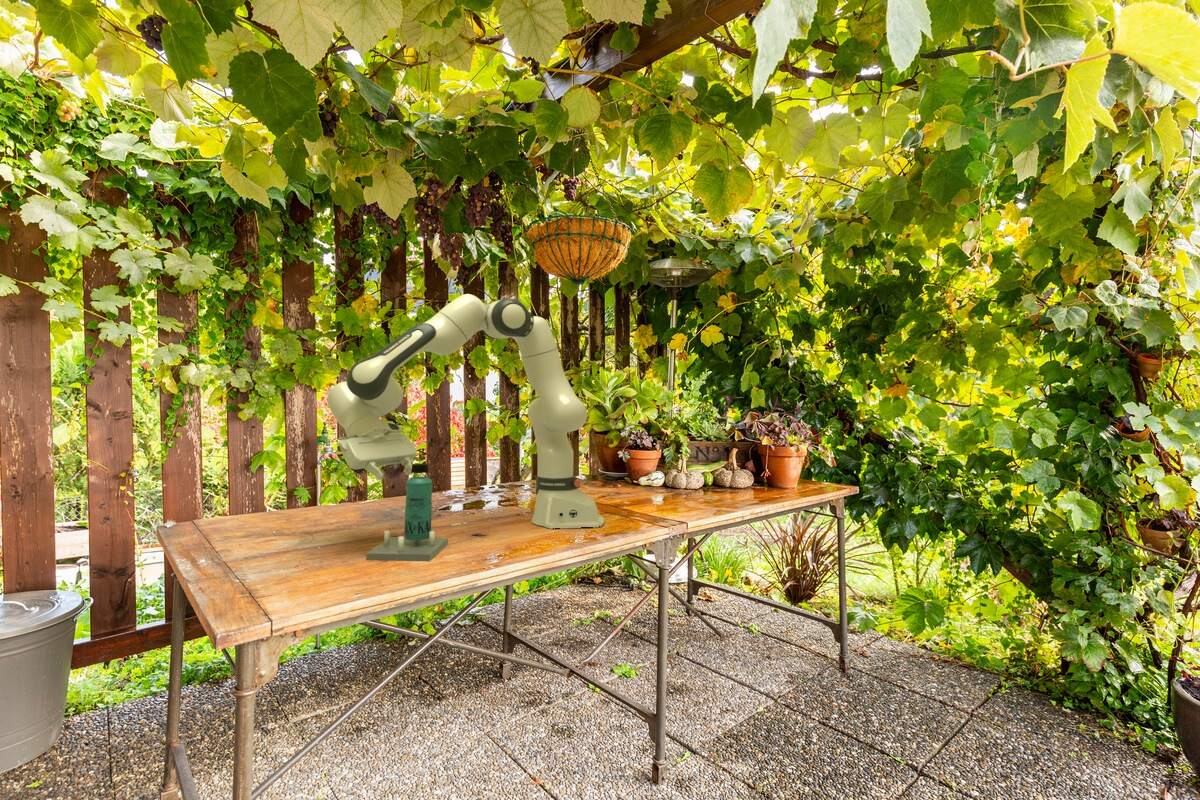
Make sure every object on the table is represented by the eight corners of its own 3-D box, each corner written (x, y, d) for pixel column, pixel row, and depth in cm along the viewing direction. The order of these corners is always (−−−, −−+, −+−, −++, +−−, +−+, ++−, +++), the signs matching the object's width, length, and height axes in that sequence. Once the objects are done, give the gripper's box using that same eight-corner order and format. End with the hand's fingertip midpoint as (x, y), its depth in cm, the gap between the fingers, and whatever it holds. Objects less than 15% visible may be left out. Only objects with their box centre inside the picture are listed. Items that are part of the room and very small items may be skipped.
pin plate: (448, 543, 145) (448, 524, 144) (429, 560, 130) (429, 539, 129) (390, 542, 145) (391, 523, 145) (366, 559, 130) (366, 538, 130)
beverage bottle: (403, 541, 140) (404, 462, 140) (430, 539, 143) (432, 462, 143) (404, 547, 134) (406, 465, 134) (433, 545, 137) (434, 464, 137)
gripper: (341, 428, 132) (370, 472, 128) (404, 425, 151) (431, 463, 147) (327, 446, 134) (356, 489, 130) (391, 440, 153) (418, 478, 149)
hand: (397, 475), depth 138 cm, fingers open, 8 cm apart
